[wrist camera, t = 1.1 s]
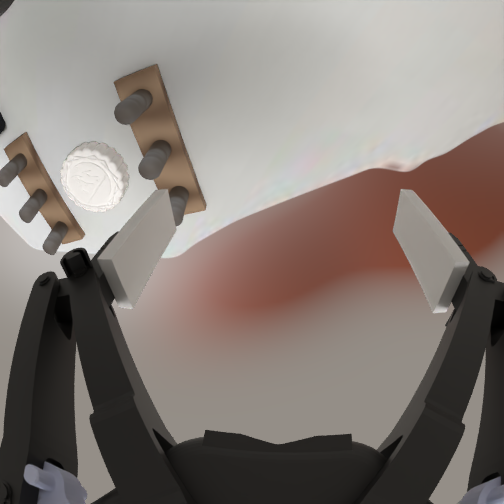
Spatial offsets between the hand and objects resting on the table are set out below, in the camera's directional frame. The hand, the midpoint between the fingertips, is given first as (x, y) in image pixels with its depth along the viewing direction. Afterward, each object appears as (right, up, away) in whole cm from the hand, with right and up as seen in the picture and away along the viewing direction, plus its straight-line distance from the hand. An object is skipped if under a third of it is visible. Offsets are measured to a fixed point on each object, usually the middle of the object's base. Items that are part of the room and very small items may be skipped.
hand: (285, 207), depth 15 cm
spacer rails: (-27, +11, +24) cm, 38 cm away
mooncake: (-27, +11, +25) cm, 38 cm away
